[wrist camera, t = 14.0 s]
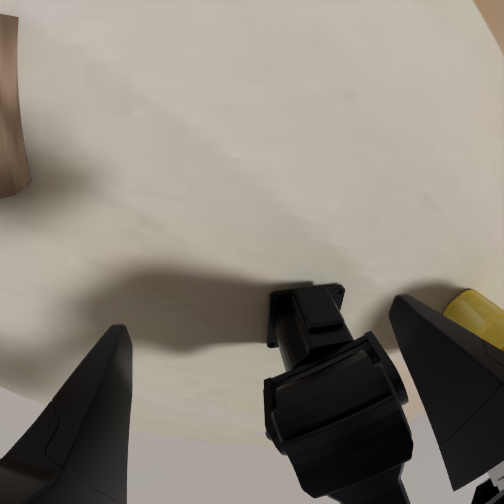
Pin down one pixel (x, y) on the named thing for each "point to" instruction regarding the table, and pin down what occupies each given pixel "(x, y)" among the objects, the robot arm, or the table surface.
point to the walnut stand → (10, 114)
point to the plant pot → (478, 316)
